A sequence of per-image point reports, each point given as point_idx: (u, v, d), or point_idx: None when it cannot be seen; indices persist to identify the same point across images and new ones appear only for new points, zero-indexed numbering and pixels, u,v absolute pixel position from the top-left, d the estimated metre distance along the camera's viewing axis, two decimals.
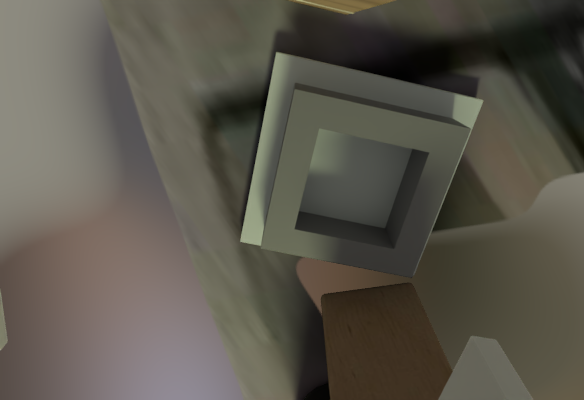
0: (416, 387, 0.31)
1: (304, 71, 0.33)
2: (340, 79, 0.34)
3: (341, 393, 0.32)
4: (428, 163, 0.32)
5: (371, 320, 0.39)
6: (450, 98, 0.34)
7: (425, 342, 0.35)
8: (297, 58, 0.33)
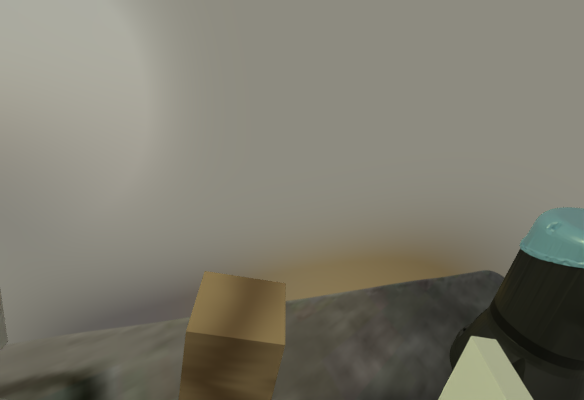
0: None
1: None
2: None
3: None
4: None
5: None
6: None
7: None
8: None
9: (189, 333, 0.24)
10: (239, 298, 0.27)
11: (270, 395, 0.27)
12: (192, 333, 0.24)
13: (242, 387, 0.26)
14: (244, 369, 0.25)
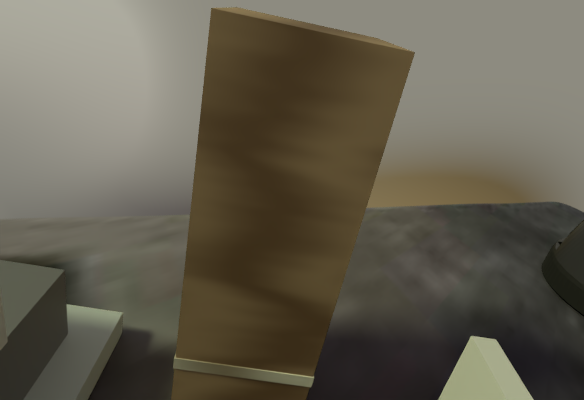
0: None
1: (83, 345, 0.20)
2: (50, 399, 0.17)
3: None
4: None
5: None
6: None
7: None
8: (107, 336, 0.21)
9: (218, 16, 0.11)
10: (305, 24, 0.15)
11: (368, 191, 0.14)
12: (224, 14, 0.11)
13: (316, 168, 0.13)
14: (325, 122, 0.13)
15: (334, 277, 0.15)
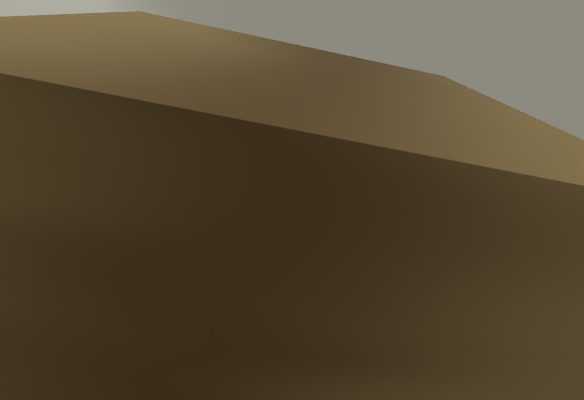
0: None
1: None
2: None
3: None
4: None
5: None
6: None
7: None
8: None
9: None
10: (286, 57, 0.06)
11: None
12: None
13: None
14: None
15: None
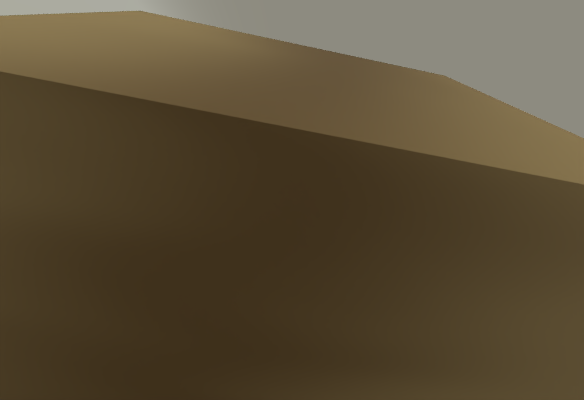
0: None
1: None
2: None
3: None
4: None
5: None
6: None
7: None
8: None
9: None
10: (288, 57, 0.06)
11: None
12: None
13: None
14: None
15: None
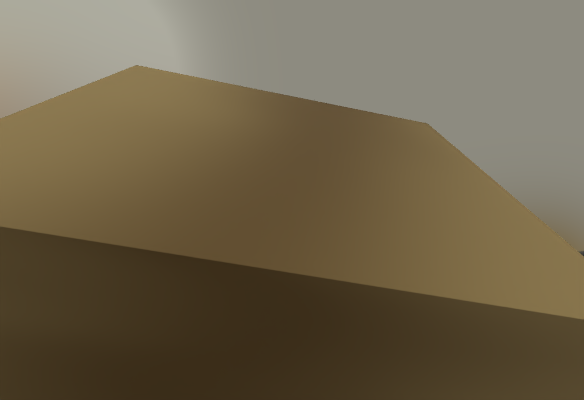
0: None
1: None
2: None
3: None
4: None
5: None
6: None
7: None
8: None
9: None
10: (274, 125, 0.06)
11: None
12: None
13: None
14: None
15: None
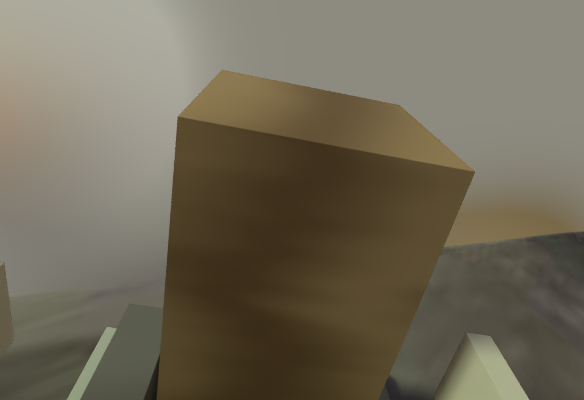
0: None
1: None
2: None
3: None
4: None
5: None
6: None
7: None
8: None
9: (188, 127, 0.08)
10: (311, 103, 0.11)
11: (400, 337, 0.10)
12: (197, 123, 0.08)
13: (330, 313, 0.10)
14: (343, 258, 0.09)
15: None
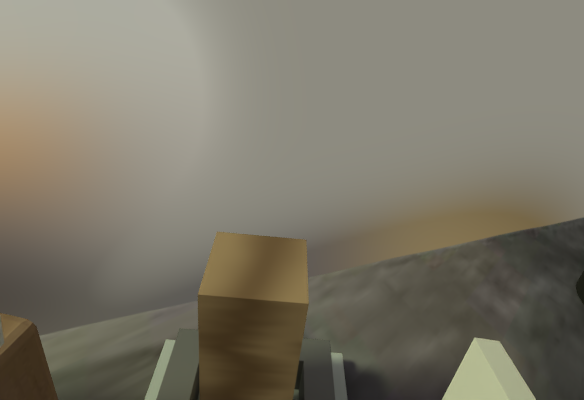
0: None
1: (334, 374, 0.39)
2: None
3: None
4: None
5: None
6: None
7: None
8: (342, 368, 0.40)
9: (201, 296, 0.22)
10: (255, 257, 0.25)
11: (297, 359, 0.24)
12: (204, 296, 0.22)
13: (266, 352, 0.24)
14: (266, 333, 0.23)
15: (287, 398, 0.26)
